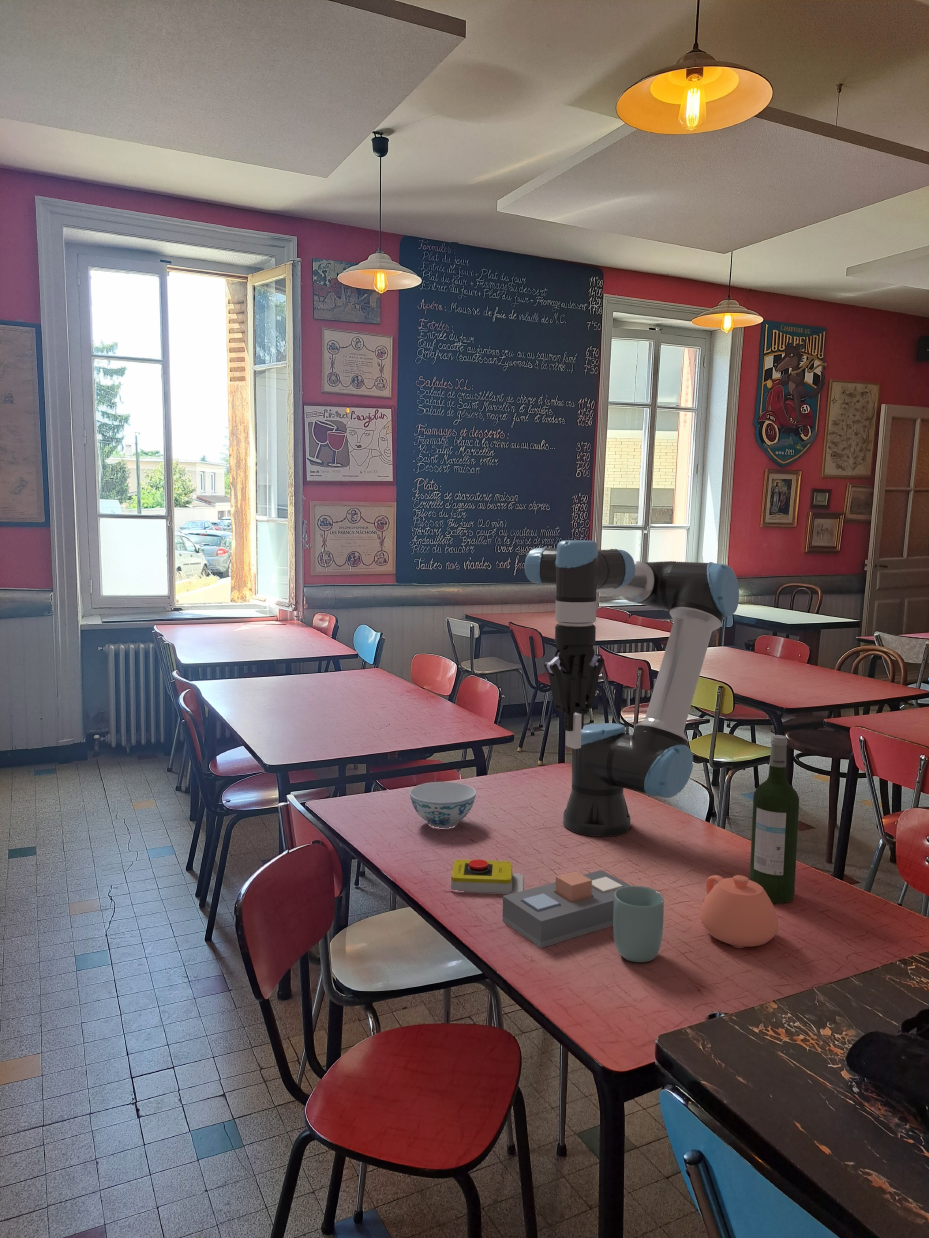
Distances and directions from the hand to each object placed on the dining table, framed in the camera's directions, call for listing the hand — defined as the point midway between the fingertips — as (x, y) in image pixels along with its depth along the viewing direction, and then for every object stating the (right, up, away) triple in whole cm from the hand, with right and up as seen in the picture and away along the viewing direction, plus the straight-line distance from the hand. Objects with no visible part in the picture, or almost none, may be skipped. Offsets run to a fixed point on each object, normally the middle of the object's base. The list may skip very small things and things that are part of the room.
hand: (573, 746), depth 163 cm
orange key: (-2, -24, -14) cm, 28 cm away
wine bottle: (+36, -27, -3) cm, 46 cm away
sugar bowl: (+25, -29, -19) cm, 42 cm away
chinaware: (-26, -23, +32) cm, 47 cm away
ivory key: (+4, -26, -10) cm, 28 cm away
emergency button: (-17, -27, +1) cm, 32 cm away
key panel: (-2, -28, -14) cm, 31 cm away
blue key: (-8, -27, -18) cm, 33 cm away
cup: (+7, -29, -27) cm, 40 cm away
